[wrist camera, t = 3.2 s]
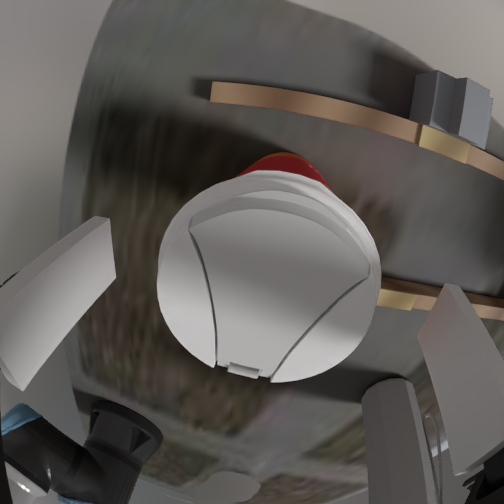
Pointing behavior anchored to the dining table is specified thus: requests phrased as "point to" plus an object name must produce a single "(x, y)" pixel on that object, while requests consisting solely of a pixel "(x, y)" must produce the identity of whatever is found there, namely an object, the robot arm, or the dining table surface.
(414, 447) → the water bottle
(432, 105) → the block
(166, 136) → the dining table surface
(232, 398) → the dining table surface
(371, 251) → the coffee cup
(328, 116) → the brown piece
